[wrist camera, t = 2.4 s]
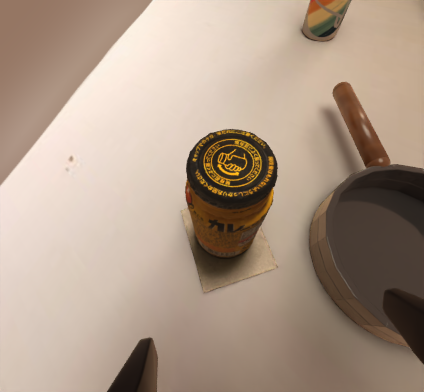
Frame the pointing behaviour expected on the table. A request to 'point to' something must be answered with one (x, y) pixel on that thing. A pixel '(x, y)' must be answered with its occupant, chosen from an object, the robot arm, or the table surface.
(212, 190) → the condiment
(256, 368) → the table surface
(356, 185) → the pan
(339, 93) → the pan handle
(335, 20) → the lotion bottle
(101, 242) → the table surface
